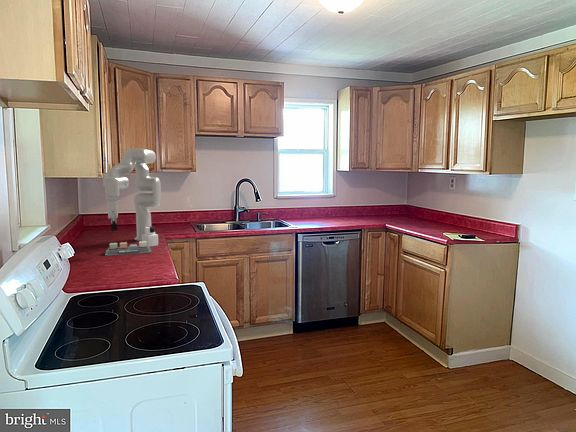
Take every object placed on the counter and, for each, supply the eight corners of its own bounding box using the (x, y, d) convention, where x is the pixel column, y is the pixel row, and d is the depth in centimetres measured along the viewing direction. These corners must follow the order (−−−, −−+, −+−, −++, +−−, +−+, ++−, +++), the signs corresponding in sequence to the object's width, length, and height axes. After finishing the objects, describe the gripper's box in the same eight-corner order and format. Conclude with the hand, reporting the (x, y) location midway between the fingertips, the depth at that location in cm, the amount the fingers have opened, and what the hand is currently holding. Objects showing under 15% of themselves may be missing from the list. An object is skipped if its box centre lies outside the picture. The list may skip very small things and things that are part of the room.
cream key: (139, 245, 250) (139, 241, 250) (146, 245, 251) (146, 241, 251) (139, 246, 246) (139, 242, 246) (146, 246, 248) (146, 242, 247)
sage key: (110, 247, 244) (109, 243, 244) (117, 247, 246) (117, 242, 245) (109, 248, 241) (109, 244, 240) (117, 248, 242) (117, 244, 242)
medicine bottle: (152, 243, 270) (151, 225, 268) (158, 245, 266) (157, 226, 264) (142, 245, 265) (141, 227, 263) (148, 247, 260) (147, 228, 258)
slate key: (129, 248, 248) (129, 244, 248) (137, 248, 250) (136, 244, 249) (129, 250, 244) (129, 246, 244) (137, 249, 246) (136, 245, 246)
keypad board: (106, 251, 248) (106, 246, 248) (150, 248, 257) (150, 244, 257) (105, 256, 235) (104, 251, 235) (151, 252, 244) (151, 248, 244)
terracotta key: (119, 246, 246) (119, 242, 246) (127, 246, 248) (127, 242, 247) (119, 248, 242) (119, 243, 242) (127, 247, 244) (127, 243, 244)
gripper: (106, 197, 245) (107, 228, 247) (105, 200, 231) (106, 232, 234) (119, 197, 248) (121, 228, 250) (119, 199, 234) (121, 232, 236)
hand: (114, 230), depth 242 cm, fingers closed
